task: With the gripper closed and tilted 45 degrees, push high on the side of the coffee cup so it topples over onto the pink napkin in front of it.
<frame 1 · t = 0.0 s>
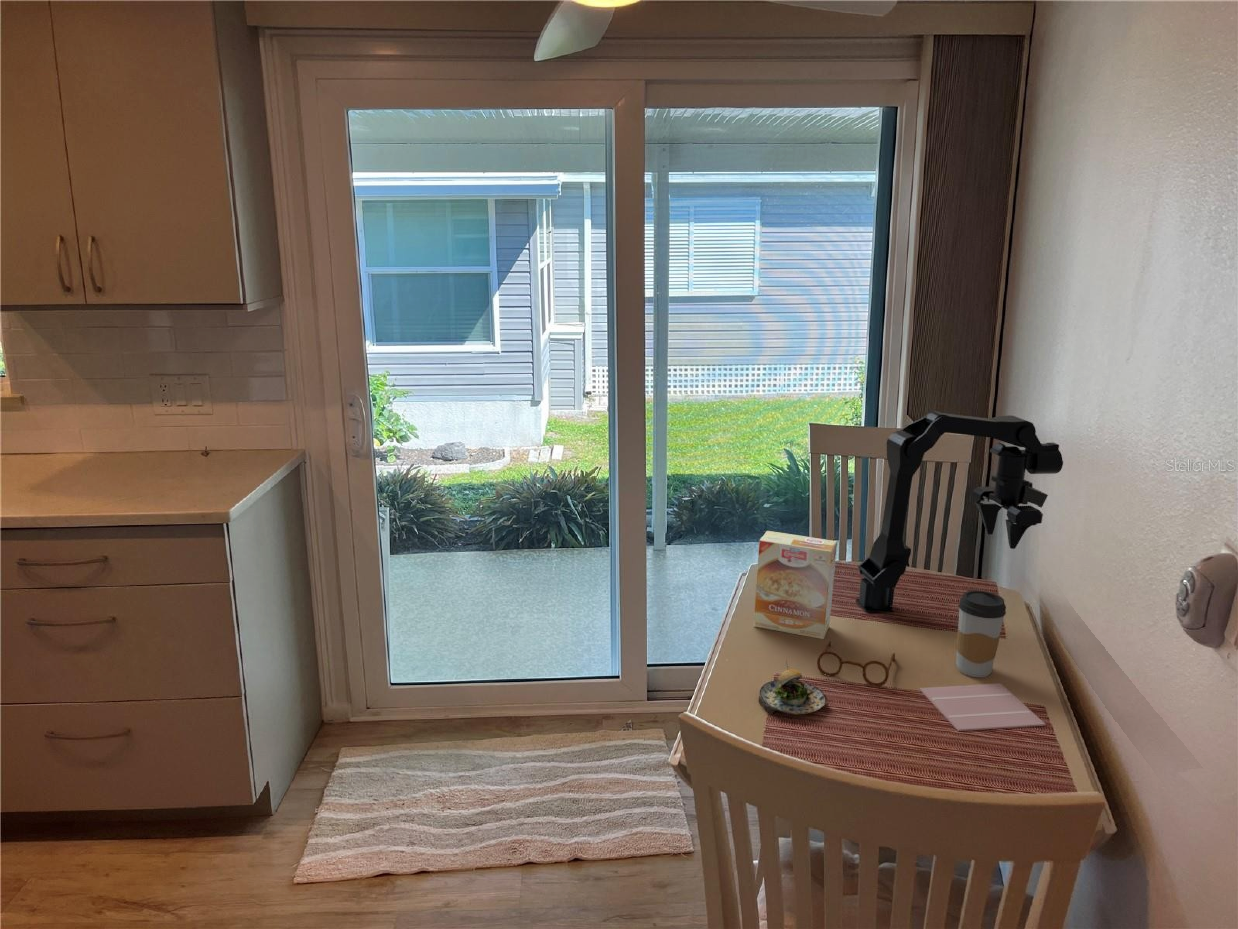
hand: (1001, 541, 200), 15 cm above the table, tool pointing down, fingers open, 9 cm apart
pink napkin: (980, 707, 159), on the table
glasses: (856, 668, 173), on the table
coffee cup: (973, 671, 172), on the table
coffeecake box: (791, 627, 189), on the table
burger: (792, 705, 159), on the table
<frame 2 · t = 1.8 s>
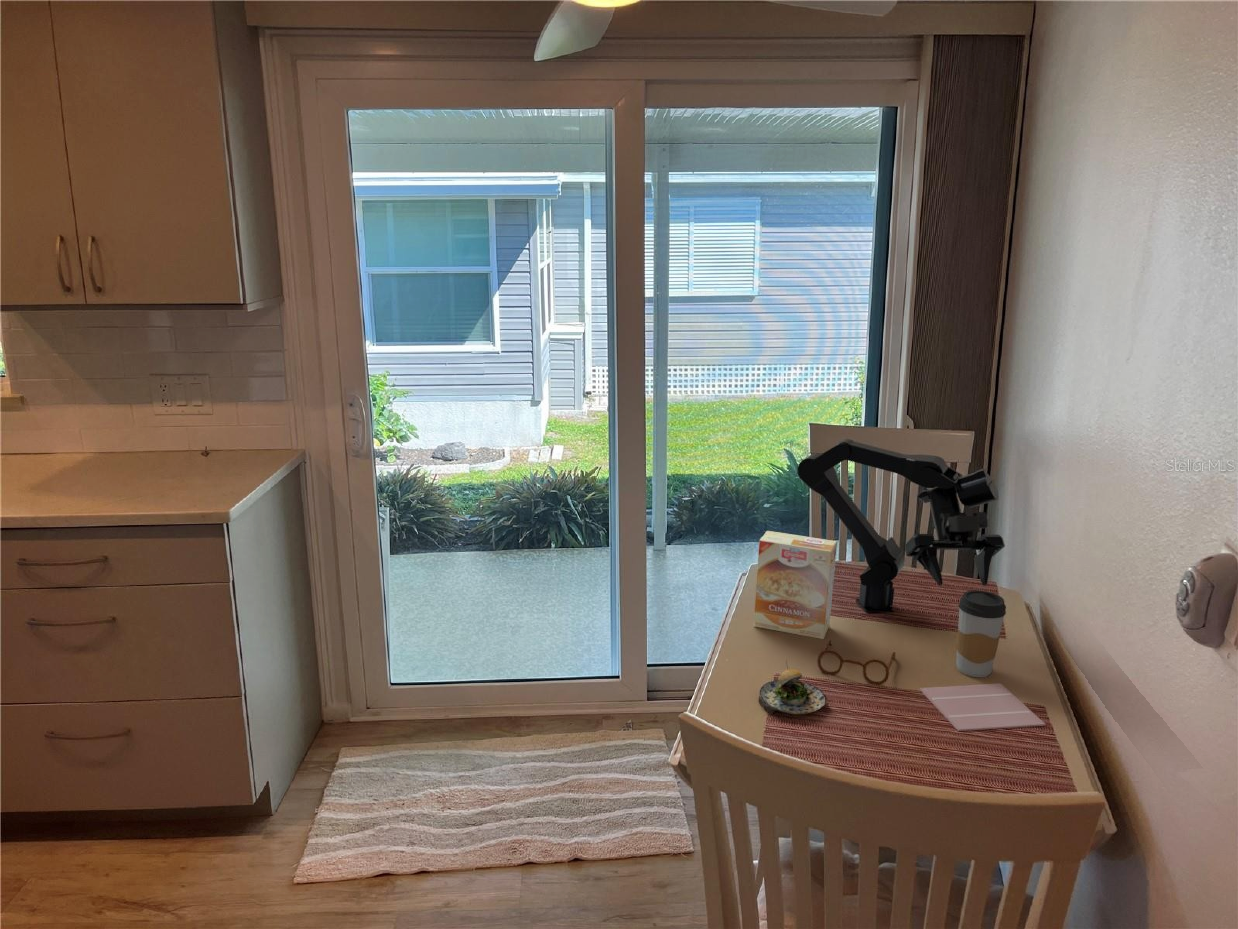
hand: (963, 584, 178), 13 cm above the table, tool tilted 45°, fingers open, 9 cm apart
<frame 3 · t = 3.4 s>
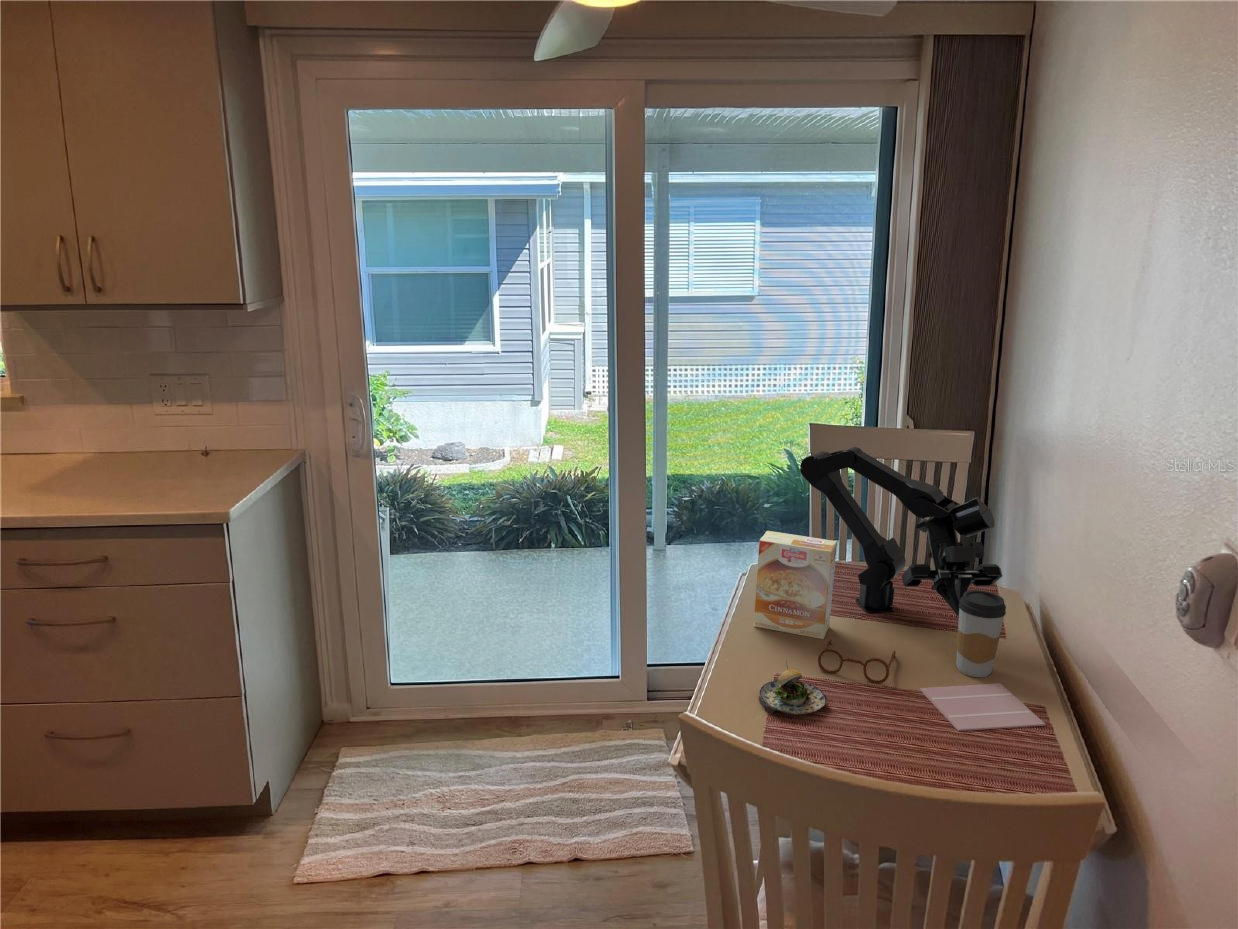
hand: (960, 615, 178), 8 cm above the table, tool tilted 45°, fingers closed
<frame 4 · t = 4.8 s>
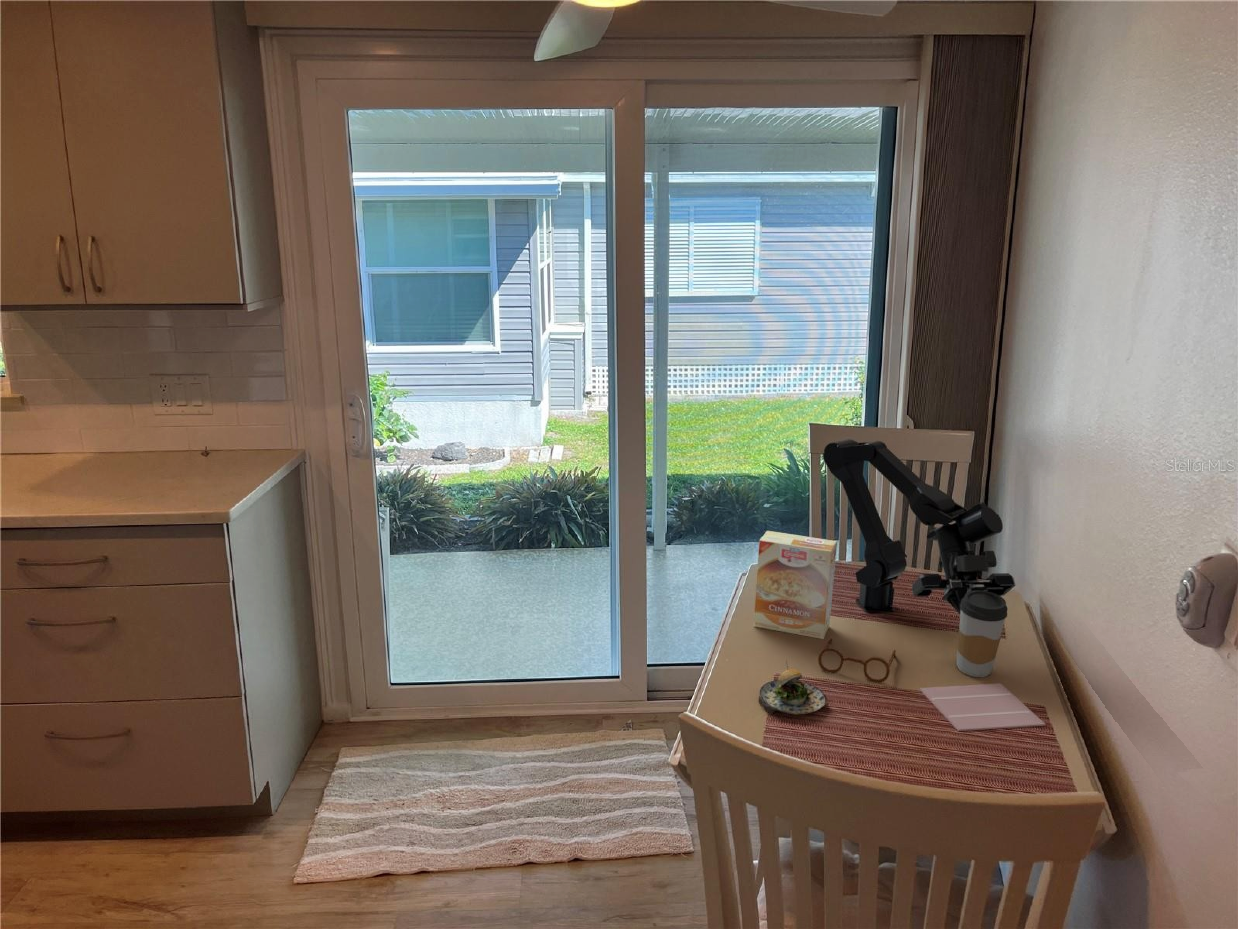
hand: (972, 626, 173), 8 cm above the table, tool tilted 45°, fingers closed
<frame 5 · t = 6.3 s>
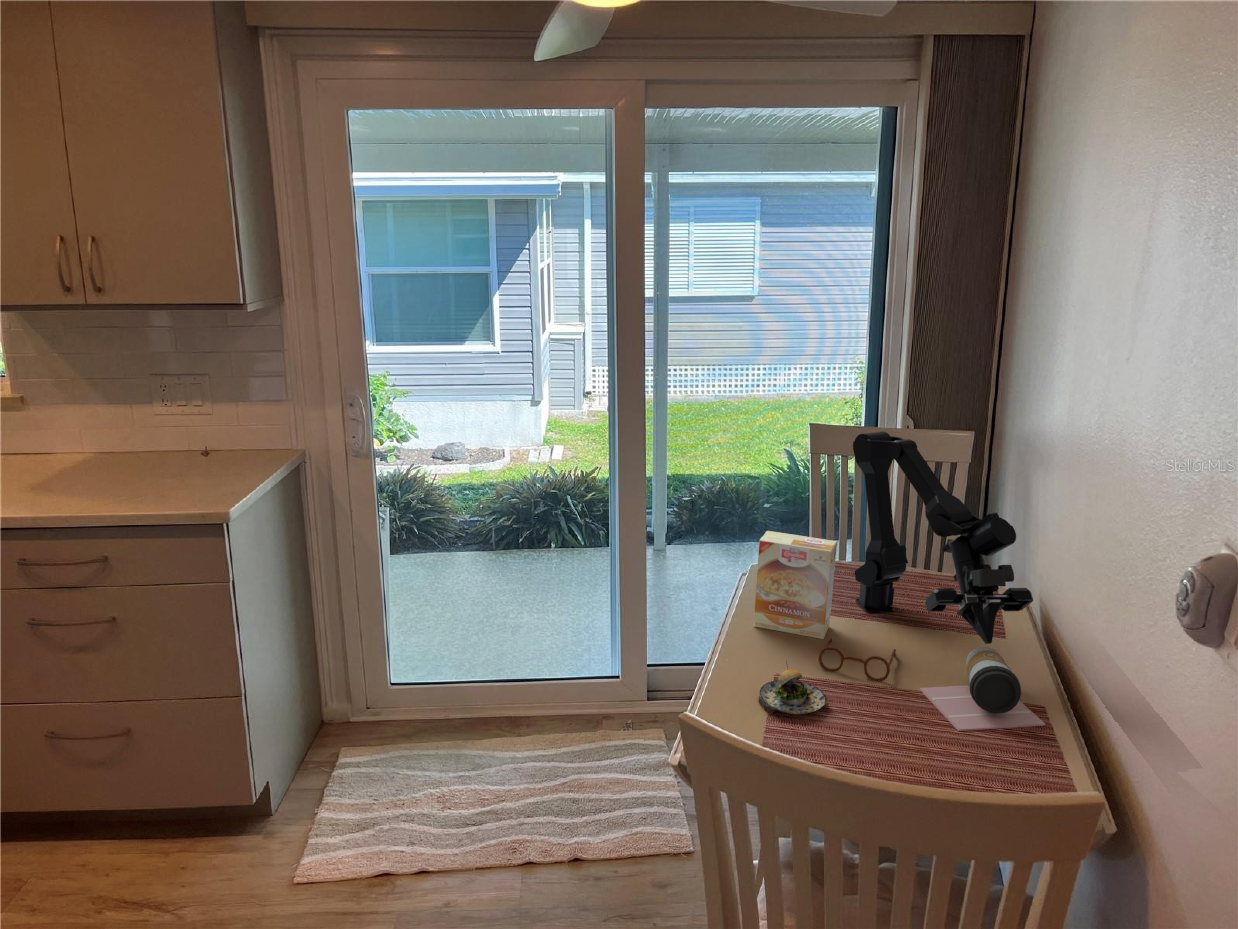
hand: (988, 643, 166), 8 cm above the table, tool tilted 45°, fingers closed
coffee cup: (983, 661, 168), point 3 cm above the table, touching pink napkin
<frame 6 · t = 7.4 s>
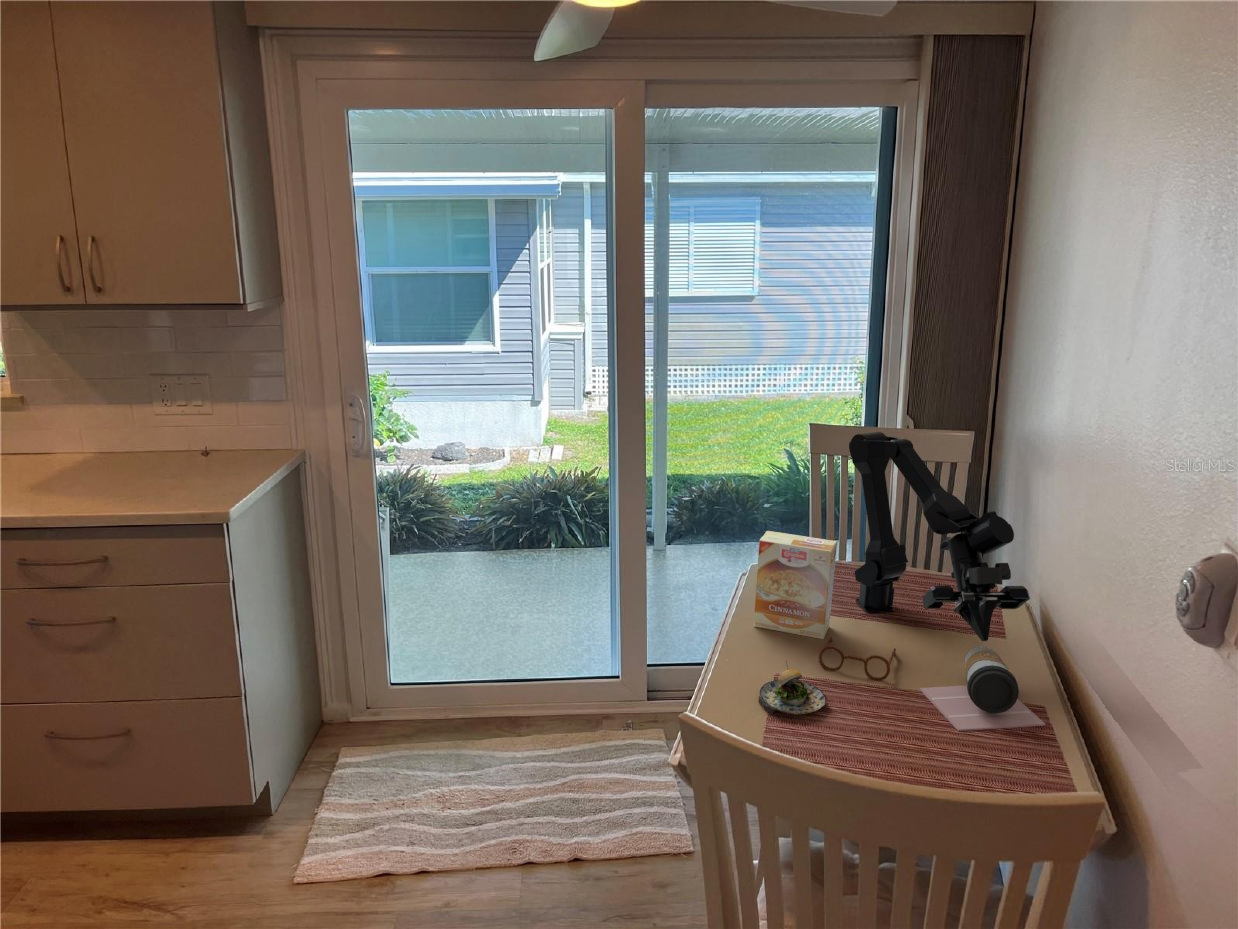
hand: (985, 640, 167), 8 cm above the table, tool tilted 45°, fingers closed
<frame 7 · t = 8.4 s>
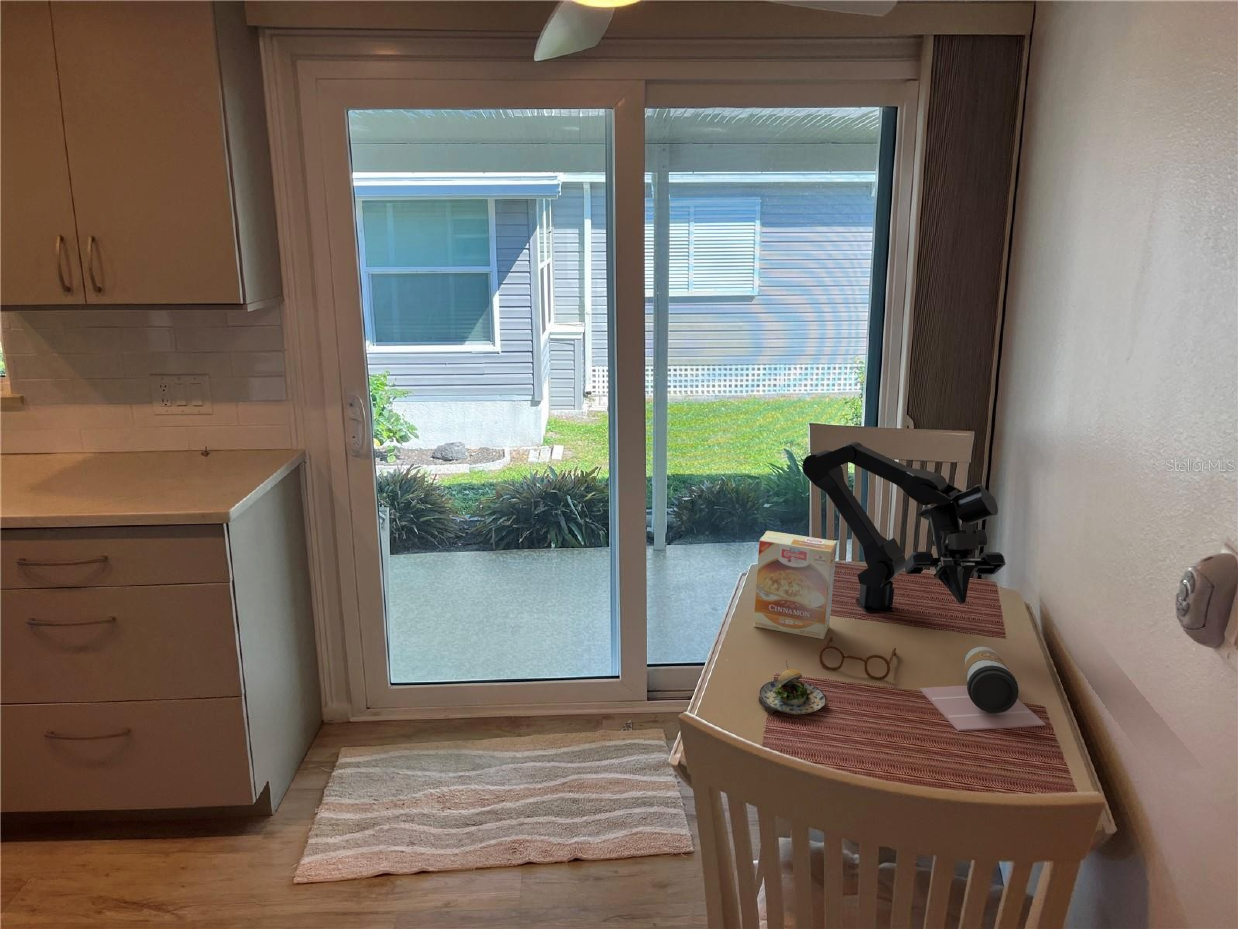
hand: (962, 603, 177), 11 cm above the table, tool tilted 45°, fingers closed
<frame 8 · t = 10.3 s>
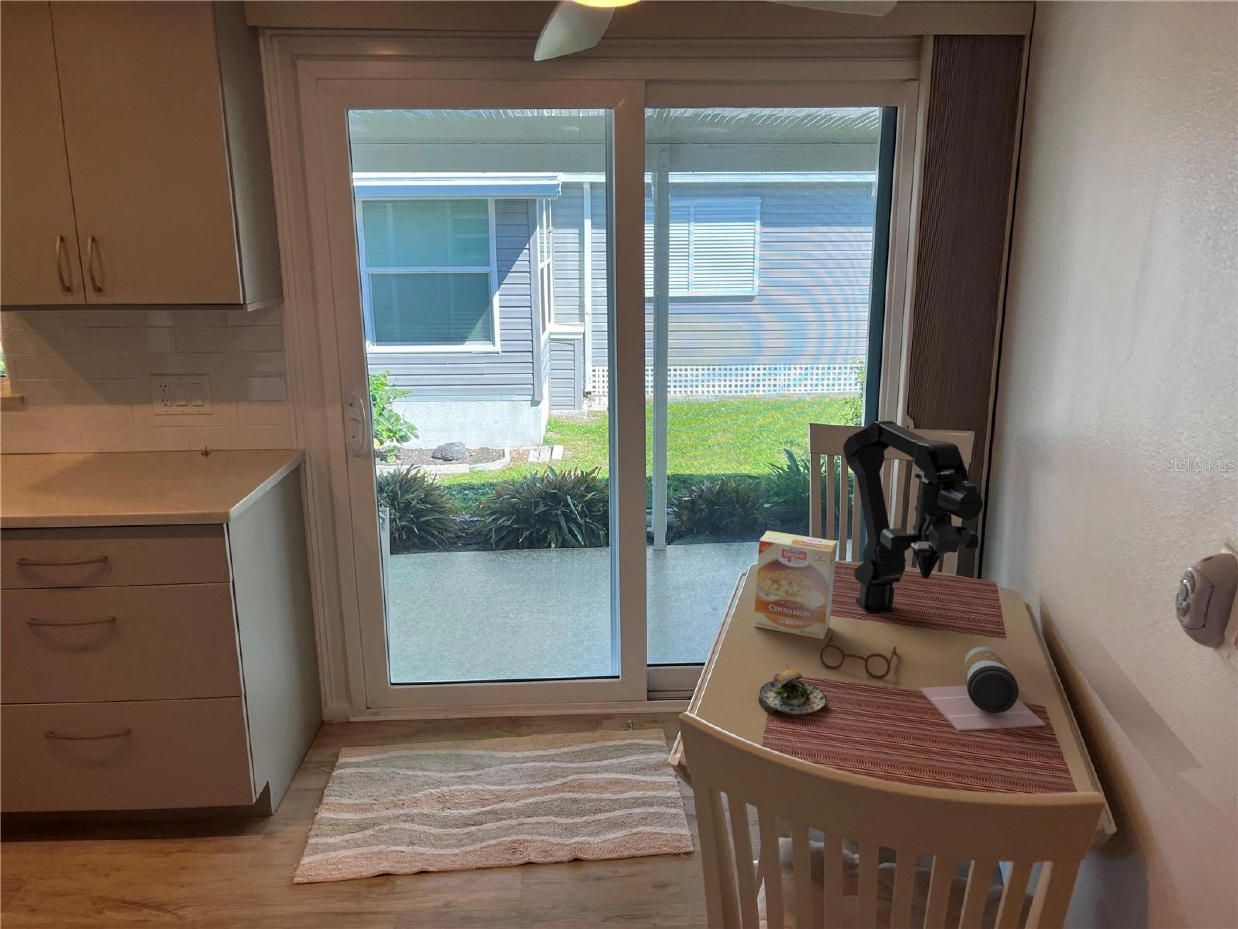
hand: (925, 578, 183), 13 cm above the table, tool pointing down, fingers closed
at the end: coffee cup tilted 84°; coffee cup touching pink napkin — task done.
